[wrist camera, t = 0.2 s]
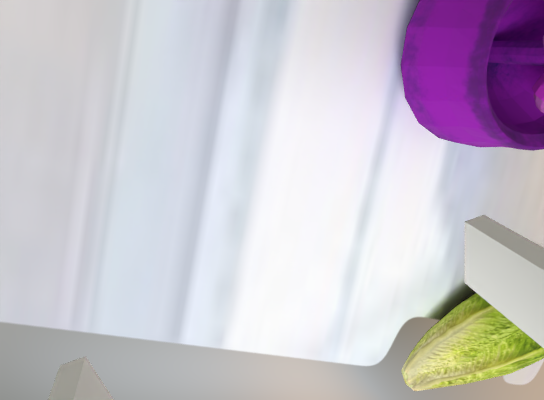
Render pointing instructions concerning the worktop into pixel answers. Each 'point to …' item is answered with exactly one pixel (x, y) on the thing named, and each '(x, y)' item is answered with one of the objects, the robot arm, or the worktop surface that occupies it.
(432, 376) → the lettuce
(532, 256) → the robot arm
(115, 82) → the worktop surface
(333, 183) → the worktop surface
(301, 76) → the worktop surface
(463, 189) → the worktop surface
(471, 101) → the decorative plant
